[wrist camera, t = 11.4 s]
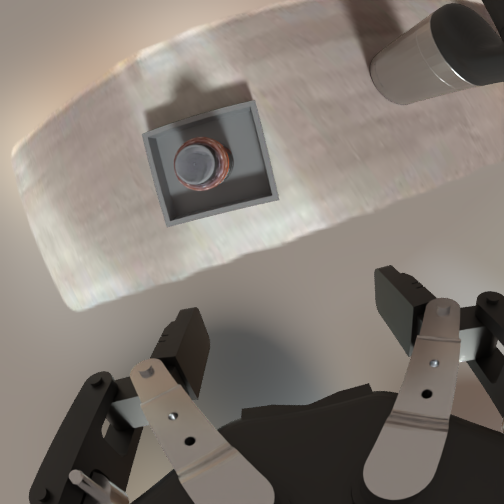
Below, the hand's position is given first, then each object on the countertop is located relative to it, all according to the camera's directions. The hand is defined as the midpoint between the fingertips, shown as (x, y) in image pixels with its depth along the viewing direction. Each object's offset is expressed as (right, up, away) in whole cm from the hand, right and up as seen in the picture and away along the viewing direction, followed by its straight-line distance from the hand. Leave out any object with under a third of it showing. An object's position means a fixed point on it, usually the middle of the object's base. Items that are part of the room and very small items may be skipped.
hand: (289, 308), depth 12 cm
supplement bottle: (-7, +14, +24) cm, 29 cm away
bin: (-7, +14, +25) cm, 30 cm away
